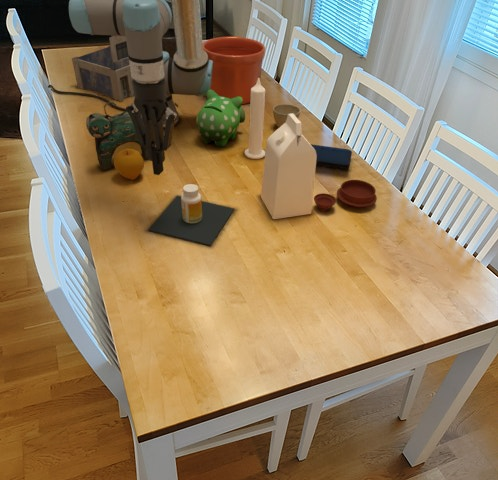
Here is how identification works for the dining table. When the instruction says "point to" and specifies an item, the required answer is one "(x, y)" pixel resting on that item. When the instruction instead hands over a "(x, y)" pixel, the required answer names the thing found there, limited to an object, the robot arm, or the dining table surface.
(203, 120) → the piggy bank
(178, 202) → the mat
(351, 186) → the pottery
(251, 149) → the candle
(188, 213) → the supplement bottle
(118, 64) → the building
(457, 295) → the dining table surface
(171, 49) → the planter
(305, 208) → the milk
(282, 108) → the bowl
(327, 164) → the game console
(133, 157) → the apple
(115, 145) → the ceramic cat
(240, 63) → the pot
